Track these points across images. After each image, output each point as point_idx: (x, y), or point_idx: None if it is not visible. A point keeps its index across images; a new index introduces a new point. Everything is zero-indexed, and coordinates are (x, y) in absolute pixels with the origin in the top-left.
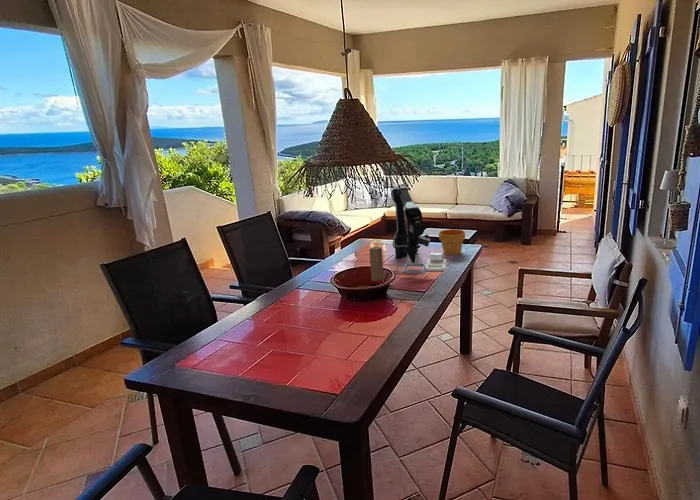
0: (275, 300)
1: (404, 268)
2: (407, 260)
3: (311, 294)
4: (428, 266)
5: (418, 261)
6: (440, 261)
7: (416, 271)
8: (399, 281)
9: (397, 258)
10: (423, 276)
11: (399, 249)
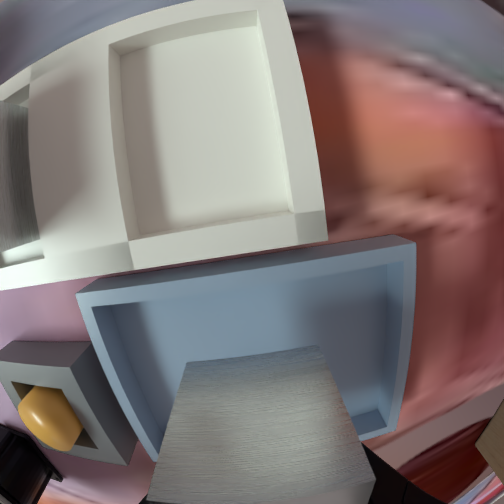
0: (494, 496)
1: None
2: (105, 461)
3: (494, 484)
4: (138, 233)
5: (334, 391)
6: (14, 122)
7: (412, 315)
8: (499, 357)
9: (56, 472)
10: (431, 216)
11: (24, 498)
